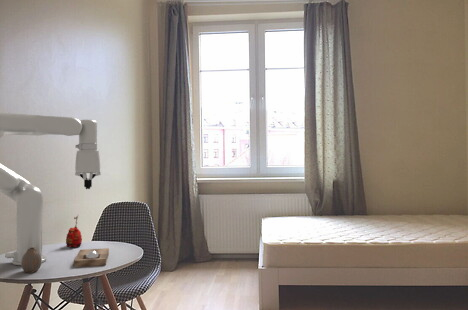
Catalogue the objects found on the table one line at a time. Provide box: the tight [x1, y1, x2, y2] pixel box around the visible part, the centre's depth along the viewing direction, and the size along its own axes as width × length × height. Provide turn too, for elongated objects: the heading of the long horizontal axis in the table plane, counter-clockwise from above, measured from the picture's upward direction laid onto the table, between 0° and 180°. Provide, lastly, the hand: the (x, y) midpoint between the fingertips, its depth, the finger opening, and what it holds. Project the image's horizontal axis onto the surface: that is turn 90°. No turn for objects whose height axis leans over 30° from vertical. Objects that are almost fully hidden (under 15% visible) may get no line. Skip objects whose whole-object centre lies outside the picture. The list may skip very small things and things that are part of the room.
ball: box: [86, 251, 99, 259], centre depth 165 cm, size 5×5×5 cm
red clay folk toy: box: [65, 215, 83, 249], centre depth 193 cm, size 8×7×15 cm
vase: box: [20, 248, 42, 273], centre depth 154 cm, size 7×7×9 cm
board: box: [73, 247, 110, 268], centre depth 170 cm, size 12×18×2 cm, turn 14°
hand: (88, 188), depth 179 cm, fingers closed
